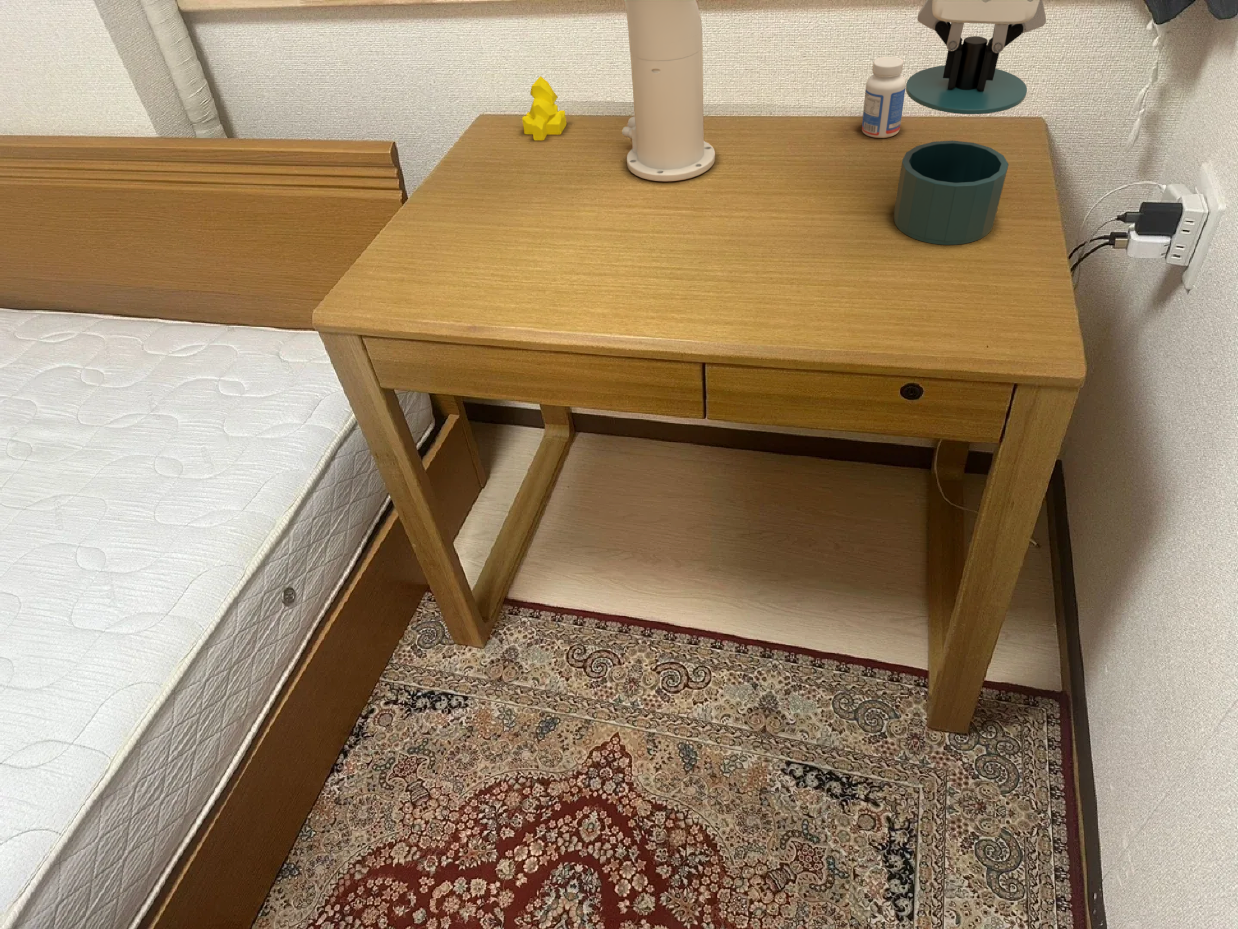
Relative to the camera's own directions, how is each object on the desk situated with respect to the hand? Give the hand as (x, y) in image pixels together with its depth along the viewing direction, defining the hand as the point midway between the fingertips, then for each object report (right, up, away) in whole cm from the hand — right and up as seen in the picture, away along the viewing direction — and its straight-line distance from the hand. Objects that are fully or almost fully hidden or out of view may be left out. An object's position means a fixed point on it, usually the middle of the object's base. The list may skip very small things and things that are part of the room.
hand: (966, 83), depth 94 cm
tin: (+2, -12, +11) cm, 16 cm away
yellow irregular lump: (-50, +11, +41) cm, 65 cm away
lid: (0, 0, +1) cm, 1 cm away
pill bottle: (0, +7, +31) cm, 31 cm away
